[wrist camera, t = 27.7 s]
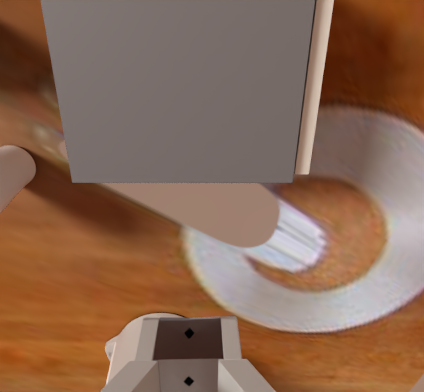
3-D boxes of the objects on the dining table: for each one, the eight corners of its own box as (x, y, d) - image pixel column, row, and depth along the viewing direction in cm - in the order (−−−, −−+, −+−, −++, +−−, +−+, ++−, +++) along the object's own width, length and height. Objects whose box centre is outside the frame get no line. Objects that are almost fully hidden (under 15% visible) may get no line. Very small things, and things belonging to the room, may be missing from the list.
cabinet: (261, 134, 42) (292, 182, 28) (116, 133, 41) (72, 182, 27) (274, -38, 35) (326, -93, 20) (97, -42, 34) (22, -102, 20)
